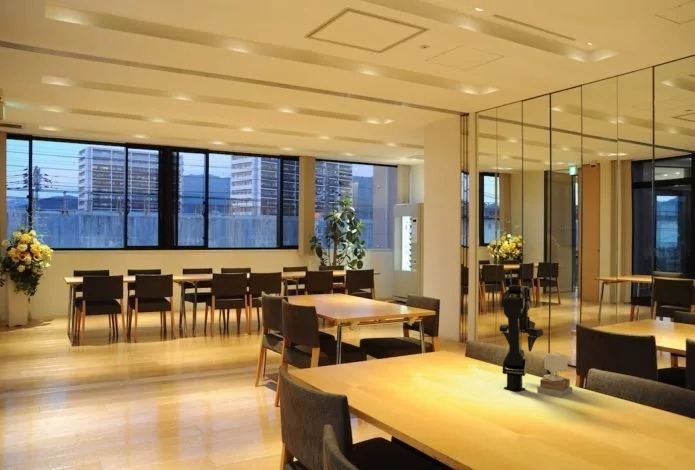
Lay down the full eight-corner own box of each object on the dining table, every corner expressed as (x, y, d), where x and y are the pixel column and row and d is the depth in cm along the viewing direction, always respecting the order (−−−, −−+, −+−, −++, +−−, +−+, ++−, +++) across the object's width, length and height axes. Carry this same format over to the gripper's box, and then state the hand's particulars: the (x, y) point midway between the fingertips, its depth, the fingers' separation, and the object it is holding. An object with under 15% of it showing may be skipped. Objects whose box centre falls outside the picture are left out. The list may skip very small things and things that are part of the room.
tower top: (563, 391, 224) (563, 383, 224) (540, 387, 229) (540, 379, 229) (569, 386, 231) (569, 378, 231) (547, 382, 236) (547, 375, 236)
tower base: (561, 399, 223) (561, 391, 223) (537, 394, 230) (537, 386, 230) (572, 394, 230) (572, 387, 230) (548, 389, 237) (548, 382, 237)
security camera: (566, 380, 229) (568, 355, 229) (555, 381, 225) (556, 356, 225) (554, 376, 234) (555, 352, 234) (542, 377, 231) (543, 353, 231)
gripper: (550, 315, 250) (549, 350, 250) (512, 310, 264) (512, 344, 264) (536, 317, 243) (536, 353, 243) (498, 312, 257) (498, 347, 257)
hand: (520, 349), depth 252 cm, fingers open, 9 cm apart
